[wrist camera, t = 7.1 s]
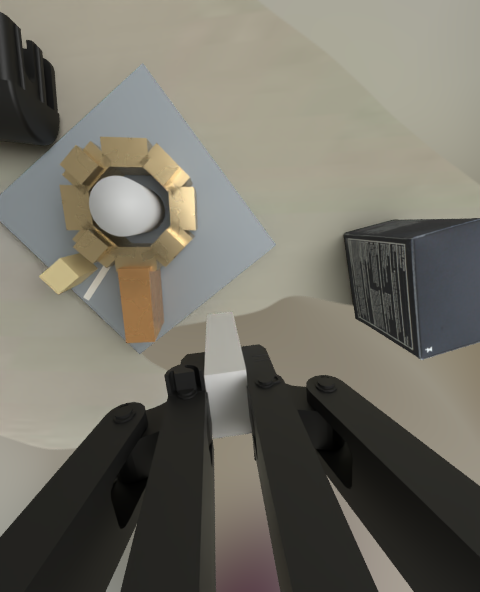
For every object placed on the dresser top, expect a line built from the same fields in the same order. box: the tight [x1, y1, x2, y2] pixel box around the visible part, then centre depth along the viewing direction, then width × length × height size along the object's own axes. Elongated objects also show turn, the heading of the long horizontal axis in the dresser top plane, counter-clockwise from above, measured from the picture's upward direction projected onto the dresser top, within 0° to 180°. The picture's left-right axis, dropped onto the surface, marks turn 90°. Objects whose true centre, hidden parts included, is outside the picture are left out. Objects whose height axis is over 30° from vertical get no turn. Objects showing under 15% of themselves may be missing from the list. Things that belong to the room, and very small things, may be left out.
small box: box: [344, 218, 480, 360], centre depth 26 cm, size 11×6×10 cm, turn 14°
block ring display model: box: [0, 63, 276, 354], centre depth 23 cm, size 19×18×8 cm
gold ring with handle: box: [59, 137, 198, 343], centre depth 24 cm, size 16×10×5 cm, turn 0°
